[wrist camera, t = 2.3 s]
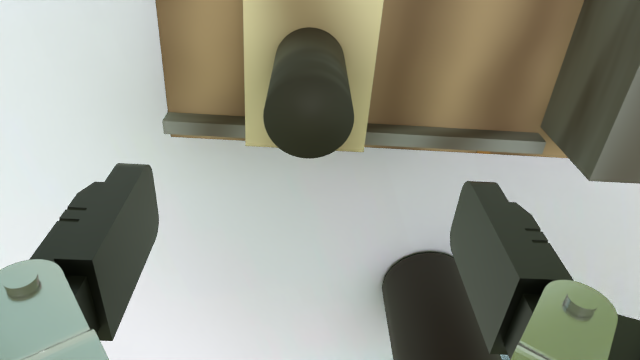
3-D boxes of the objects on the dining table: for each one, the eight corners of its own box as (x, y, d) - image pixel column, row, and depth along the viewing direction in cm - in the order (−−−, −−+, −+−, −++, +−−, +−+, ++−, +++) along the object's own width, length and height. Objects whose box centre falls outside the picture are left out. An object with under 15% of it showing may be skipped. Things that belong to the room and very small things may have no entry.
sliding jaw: (378, -53, 23) (415, -11, 15) (357, 118, 28) (376, 224, 19) (252, -61, 23) (217, -24, 14) (253, 112, 28) (227, 217, 19)
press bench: (712, -76, 24) (852, -59, 18) (611, 149, 31) (687, 219, 25) (151, -120, 23) (90, -117, 17) (176, 125, 30) (139, 192, 24)
